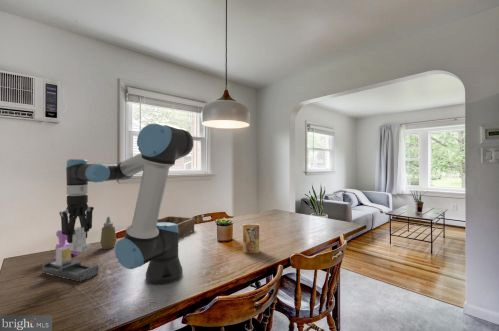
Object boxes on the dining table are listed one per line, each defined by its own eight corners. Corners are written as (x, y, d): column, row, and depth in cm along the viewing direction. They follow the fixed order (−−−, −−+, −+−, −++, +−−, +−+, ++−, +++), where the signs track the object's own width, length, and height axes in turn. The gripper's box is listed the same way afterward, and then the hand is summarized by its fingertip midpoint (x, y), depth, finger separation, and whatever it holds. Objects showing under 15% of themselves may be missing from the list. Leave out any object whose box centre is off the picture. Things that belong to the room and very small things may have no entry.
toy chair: (80, 255, 128) (80, 227, 127) (63, 261, 119) (63, 231, 119) (69, 253, 130) (68, 226, 130) (51, 259, 122) (51, 230, 122)
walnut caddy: (194, 230, 175) (194, 218, 175) (165, 244, 145) (165, 229, 145) (168, 227, 182) (168, 215, 182) (136, 240, 153) (136, 226, 153)
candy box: (258, 250, 135) (258, 223, 135) (259, 253, 131) (259, 225, 131) (243, 250, 135) (243, 223, 135) (243, 253, 131) (243, 225, 131)
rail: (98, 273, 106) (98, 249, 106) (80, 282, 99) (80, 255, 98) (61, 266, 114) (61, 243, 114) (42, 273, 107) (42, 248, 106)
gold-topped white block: (90, 248, 105) (90, 228, 105) (81, 251, 101) (81, 230, 101) (77, 246, 108) (77, 226, 107) (68, 249, 104) (68, 228, 104)
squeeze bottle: (114, 244, 145) (114, 214, 145) (118, 247, 139) (118, 216, 139) (98, 247, 139) (98, 216, 139) (102, 251, 133) (102, 219, 133)
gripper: (62, 197, 95) (62, 256, 95) (101, 192, 111) (101, 242, 112) (49, 196, 98) (50, 253, 98) (90, 192, 114) (90, 241, 114)
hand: (77, 247), depth 105 cm, fingers closed on gold-topped white block, 4 cm apart
